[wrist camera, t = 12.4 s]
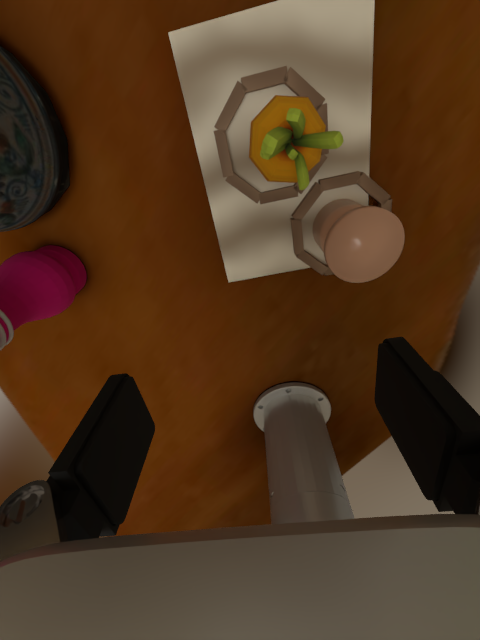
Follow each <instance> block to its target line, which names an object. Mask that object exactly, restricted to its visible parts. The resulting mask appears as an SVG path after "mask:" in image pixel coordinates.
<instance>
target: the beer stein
mask: <svg viewBox="0 0 480 640" xmlns="http://www.w3.org/2000/svg"><path fill="white" fill-rule="evenodd" d="M69 185H70V183H69V163H68V143H67V138H66V136H65V133H64V131H63V129H62V126H61V124H60V122H59V119H58V117H57V115H56V112H55V110H54V108H53V105H52V103H51V101H50V98H49V96H48V94H47V93H46V91H45V90H44V89H43V88H42V87H41V86H40V85H39V84H38V82H37V81H36V80H35V79H34V78H33V77H32V76H31V75H30V74H29V72H28V71H27V70H26V69H25V68H24V67H23V66H22V65H21V63H20V62H19V61H18V60H17V59H16V58H15V57H14V56H13V54H12V53H10V52H9V51H7V50H6V49H4V48H3V47H1V46H0V232H1V231H9V230H14V229H18V228H22V227H24V226H26V225H28V224H30V223H32V222H34V221H35V220H37V219H38V218H39V217H40V216H42V215H43V214H44V213H46V212H48V211H50V210H51V209H52V208H53V206H54V205H55V204H56V202H57V201H58V200H59V198H60V197H61V196H62V195H63V193H64V192H65V191H66V189H67V188H68V187H69Z"/></svg>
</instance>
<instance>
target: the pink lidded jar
mask: <svg viewBox="0 0 480 640" xmlns="http://www.w3.org/2000/svg"><path fill="white" fill-rule="evenodd" d="M313 237H314V240H315V242H316V243H317V245H318V246H319V247H320V249H321V250H322V251H323V253H324V257H325V261H326V263H327V265H328V266H329V268H330V269H331V271H332V272H333V273H334V274H335V275H336V276H337V277H338V278H340V279H342V280H344V281H347V282H352V283H362V282H367V281H371V280H373V279H376V278H378V277H379V276H381V275H383V274H384V273H385V272H387V271H388V270H389V269H390V268H391V267H392V266H393V265H394V264H395V262H396V261H397V260H398V258H399V256H400V254H401V252H402V249H403V246H404V238H405V235H404V229H403V226H402V224H401V222H400V220H399V219H398V218H397V216H396V215H394V214H393V213H392V212H390V211H388V210H386V209H383V208H381V207H377V206H364V205H362V204H359V203H357V202H355V201H353V200H350V199H337V200H334V201H331V202H330V203H328V204H326V205H325V206H324V207H323V208H322V209H321V210H320V211H319V212H318V214H317V216H316V217H315V220H314V223H313Z"/></svg>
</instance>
